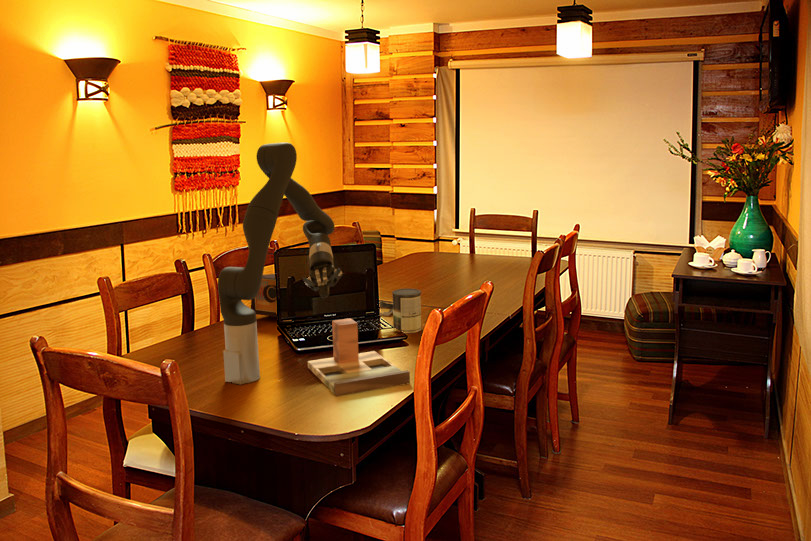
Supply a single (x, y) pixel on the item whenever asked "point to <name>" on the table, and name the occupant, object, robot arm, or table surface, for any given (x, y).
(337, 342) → the block
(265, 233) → the robot arm
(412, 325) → the coffee can
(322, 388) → the table surface
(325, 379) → the trap box
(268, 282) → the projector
